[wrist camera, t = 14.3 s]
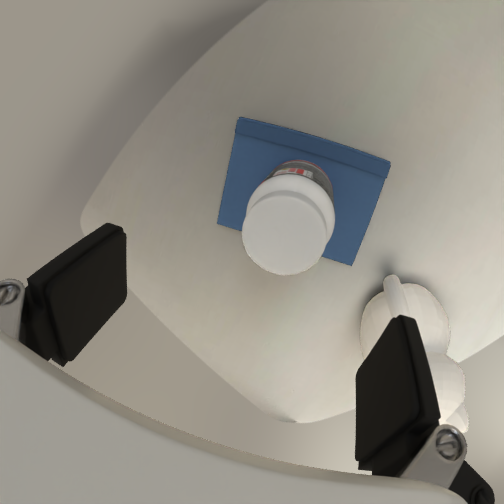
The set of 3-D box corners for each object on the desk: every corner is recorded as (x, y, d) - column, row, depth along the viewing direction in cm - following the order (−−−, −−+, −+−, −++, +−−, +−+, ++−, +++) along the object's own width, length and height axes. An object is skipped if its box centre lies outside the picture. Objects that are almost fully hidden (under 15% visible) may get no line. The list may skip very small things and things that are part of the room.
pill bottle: (263, 160, 24) (226, 186, 16) (331, 158, 23) (336, 183, 14) (268, 224, 27) (238, 281, 18) (333, 224, 25) (335, 284, 17)
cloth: (218, 222, 28) (215, 224, 28) (240, 116, 24) (238, 116, 23) (351, 264, 27) (351, 267, 26) (389, 161, 22) (391, 162, 22)
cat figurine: (374, 360, 31) (380, 477, 18) (334, 275, 28) (330, 407, 15) (445, 332, 27) (480, 445, 14) (420, 238, 24) (485, 352, 11)
